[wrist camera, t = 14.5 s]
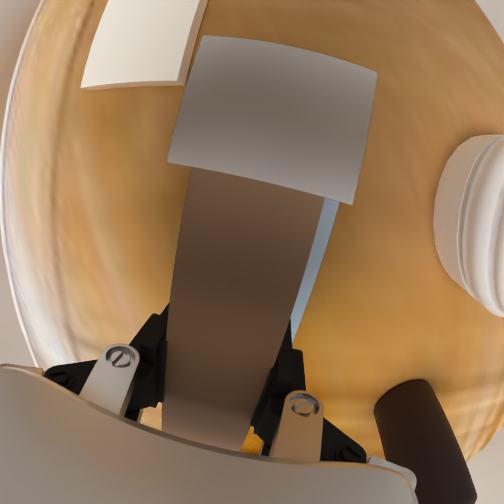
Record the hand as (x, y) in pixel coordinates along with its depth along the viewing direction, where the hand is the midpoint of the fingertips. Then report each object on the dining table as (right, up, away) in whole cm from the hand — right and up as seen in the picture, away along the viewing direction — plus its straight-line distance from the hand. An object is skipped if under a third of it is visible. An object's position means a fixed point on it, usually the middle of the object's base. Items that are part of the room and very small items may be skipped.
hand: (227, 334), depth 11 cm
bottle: (+17, -12, +10) cm, 23 cm away
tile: (-7, +15, +3) cm, 17 cm away
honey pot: (+20, +7, +4) cm, 22 cm away
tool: (0, 0, +1) cm, 1 cm away
